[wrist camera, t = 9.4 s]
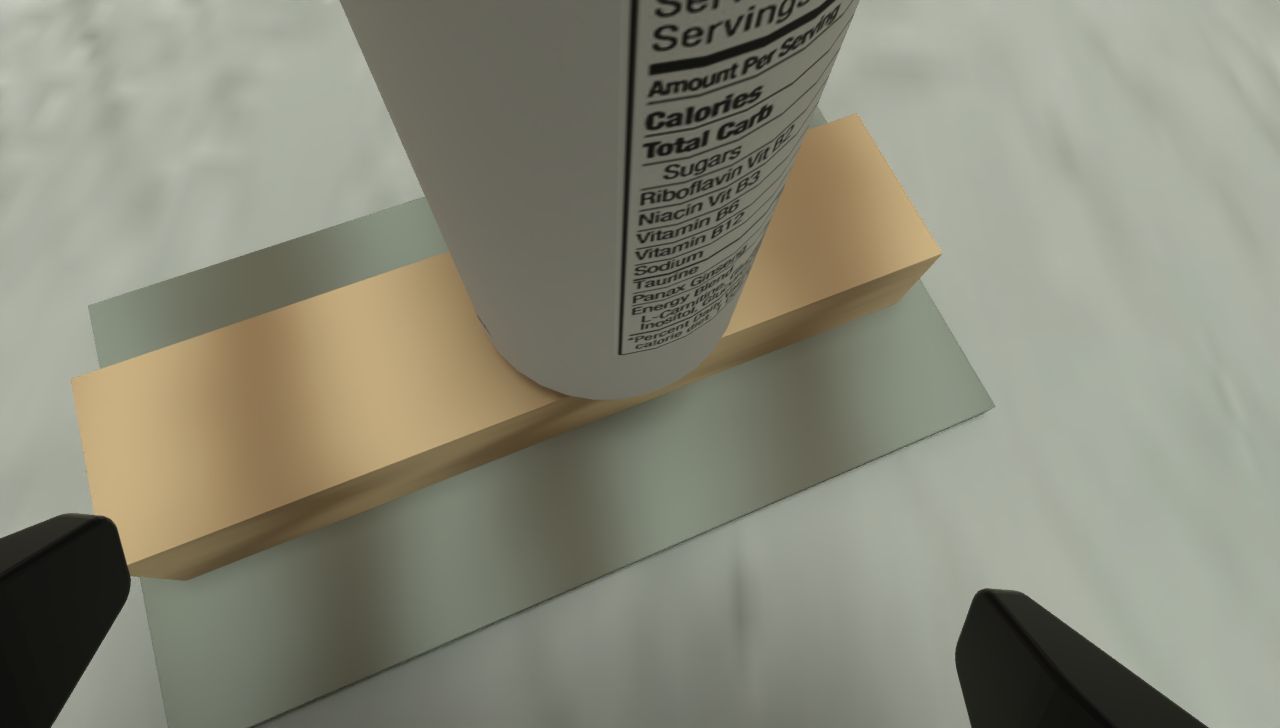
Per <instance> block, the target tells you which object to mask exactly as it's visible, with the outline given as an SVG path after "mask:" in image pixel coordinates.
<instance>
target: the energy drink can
mask: <svg viewBox="0 0 1280 728" xmlns="http://www.w3.org/2000/svg"><path fill="white" fill-rule="evenodd" d="M340 2H341V5H342V7H343V9H344V11H345V14H346V16H347V18H348V21H349V23H350V25H351V28H352V30H353V32H354V34H355V37H356V39H357V41H358V44H359V46H360V48H361V50H362V53H363V55H364V57H365V60H366V62H367V64H368V66H369V69H370V71H371V73H372V76H373V78H374V80H375V82H376V85H377V87H378V89H379V92H380V94H381V96H382V98H383V101H384V103H385V105H386V108H387V110H388V112H389V114H390V117H391V119H392V121H393V124H394V126H395V128H396V130H397V133H398V135H399V137H400V140H401V142H402V144H403V146H404V149H405V151H406V153H407V156H408V158H409V160H410V162H411V165H412V167H413V169H414V172H415V174H416V176H417V178H418V181H419V183H420V185H421V188H422V190H423V192H424V194H425V197H426V199H427V201H428V204H429V206H430V208H431V210H432V213H433V215H434V217H435V220H436V222H437V224H438V226H439V229H440V231H441V233H442V236H443V238H444V240H445V242H446V245H447V247H448V249H449V252H450V254H451V256H452V258H453V261H454V263H455V265H456V268H457V270H458V272H459V274H460V277H461V279H462V281H463V284H464V286H465V288H466V290H467V293H468V295H469V297H470V300H471V302H472V304H473V306H474V309H475V311H476V313H477V316H478V318H479V320H480V322H481V325H482V327H483V329H484V332H485V333H486V335H487V336H488V338H489V339H490V341H491V342H492V343H493V345H494V346H495V348H496V349H497V351H498V352H499V353H500V354H501V355H502V356H503V357H504V358H505V359H506V360H507V361H508V362H509V363H510V364H511V365H512V366H513V367H514V368H515V369H516V370H517V371H519V372H520V373H522V374H524V375H525V376H527V377H528V378H530V379H532V380H533V381H535V382H536V383H538V384H540V385H541V386H544V387H547V388H549V389H552V390H555V391H557V392H560V393H562V394H565V395H569V396H575V397H581V398H586V399H592V400H610V399H625V398H630V397H635V396H640V395H645V394H649V393H651V392H654V391H656V390H659V389H661V388H663V387H666V386H668V385H671V384H673V383H675V382H676V381H678V380H679V379H681V378H682V377H684V376H685V375H686V374H688V373H689V372H691V371H692V370H694V369H695V368H696V367H697V366H698V365H699V364H700V363H701V362H702V361H703V360H704V359H705V358H706V357H707V356H708V355H709V354H710V353H711V352H712V351H713V350H714V348H715V347H716V345H717V344H718V342H719V341H720V339H721V337H722V336H723V334H724V333H725V331H726V330H727V327H728V325H729V322H730V320H731V317H732V315H733V312H734V310H735V307H736V305H737V302H738V300H739V297H740V295H741V292H742V290H743V288H744V285H745V283H746V280H747V278H748V275H749V273H750V270H751V268H752V265H753V263H754V260H755V258H756V255H757V253H758V250H759V248H760V245H761V243H762V241H763V238H764V236H765V233H766V231H767V228H768V226H769V223H770V221H771V218H772V216H773V213H774V211H775V208H776V206H777V203H778V201H779V198H780V196H781V193H782V191H783V189H784V186H785V184H786V181H787V179H788V176H789V174H790V171H791V169H792V166H793V164H794V161H795V159H796V156H797V154H798V151H799V149H800V146H801V144H802V142H803V139H804V137H805V134H806V132H807V129H808V127H809V124H810V122H811V119H812V117H813V114H814V112H815V109H816V107H817V104H818V102H819V99H820V97H821V95H822V92H823V90H824V87H825V85H826V82H827V80H828V77H829V75H830V72H831V70H832V67H833V65H834V62H835V60H836V57H837V55H838V52H839V50H840V47H841V45H842V43H843V40H844V38H845V35H846V33H847V30H848V28H849V25H850V23H851V20H852V18H853V15H854V13H855V10H856V8H857V5H858V3H859V0H340Z"/></svg>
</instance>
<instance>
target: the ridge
mask: <svg viewBox="0 0 1280 728" xmlns="http://www.w3.org/2000/svg"><path fill="white" fill-rule="evenodd" d="M941 254H942V251H941V250H940V248H939V247H938V245H937V243H936V242H935V240H934V238H933V237H932V235H931V233H930V232H929V230H928V229H927V227H926V225H925V224H924V222H923V220H922V219H921V217H920V215H919V214H918V212H917V210H916V209H915V207H914V206H913V204H912V202H911V201H910V199H909V197H908V196H907V194H906V192H905V191H904V189H903V188H902V186H901V184H900V183H899V181H898V179H897V178H896V176H895V174H894V173H893V171H892V170H891V168H890V166H889V165H888V163H887V161H886V160H885V158H884V156H883V155H882V153H881V152H880V150H879V148H878V147H877V145H876V143H875V142H874V140H873V138H872V137H871V135H870V134H869V132H868V130H867V129H866V127H865V125H864V124H863V122H862V120H861V119H860V117H859V116H858V114H857V113H856V114H853V115H850V116H847V117H844V118H842V119H839V120H836V121H833V122H830V123H827V121H826V120H825V118H824V116H823V115H822V113H821V111H820V109H819V108H818V106H817V107H816V109H815V112H814V114H813V117H812V119H811V122H810V124H809V127H808V129H807V132H806V134H805V137H804V139H803V142H802V144H801V146H800V149H799V151H798V154H797V156H796V159H795V161H794V164H793V166H792V169H791V171H790V174H789V176H788V179H787V181H786V184H785V186H784V189H783V191H782V193H781V196H780V198H779V201H778V203H777V206H776V208H775V211H774V213H773V216H772V218H771V221H770V223H769V226H768V228H767V231H766V233H765V236H764V238H763V241H762V243H761V245H760V248H759V250H758V253H757V255H756V258H755V260H754V263H753V265H752V268H751V270H750V273H749V275H748V278H747V280H746V283H745V285H744V288H743V290H742V292H741V295H740V297H739V300H738V302H737V305H736V307H735V310H734V312H733V315H732V317H731V320H730V322H729V325H728V327H727V330H726V331H725V333H724V334H723V336H722V337H721V339H720V341H719V342H718V344H717V345H716V347H715V348H714V350H713V351H712V352H711V353H710V354H709V355H708V356H707V357H706V358H705V359H704V360H703V361H702V362H701V363H700V364H699V365H698V366H697V367H696V368H695V369H694V370H692V371H691V372H689V373H688V374H686V375H685V376H684V377H682V378H681V379H679V380H678V381H676V382H675V383H673V384H671V385H668V386H666V387H663V388H661V389H659V390H656V391H654V392H651V393H649V394H645V395H640V396H635V397H630V398H625V399H610V400H592V399H586V398H581V397H575V396H569V395H565V394H562V393H560V392H557V391H555V390H552V389H549V388H547V387H544V386H541V385H540V384H538V383H536V382H535V381H533V380H532V379H530V378H528V377H527V376H525V375H524V374H522V373H520V372H519V371H517V370H516V369H515V368H514V367H513V366H512V365H511V364H510V363H509V362H508V361H507V360H506V359H505V358H504V357H503V356H502V355H501V354H500V353H499V352H498V351H497V349H496V348H495V346H494V345H493V343H492V342H491V341H490V339H489V338H488V336H487V335H486V333H485V332H484V329H483V327H482V325H481V322H480V320H479V318H478V316H477V313H476V311H475V309H474V306H473V304H472V302H471V300H470V297H469V295H468V293H467V290H466V288H465V286H464V284H463V281H462V279H461V277H460V274H459V272H458V270H457V268H456V265H455V263H454V261H453V258H452V256H451V254H450V252H449V249H448V247H447V245H446V242H445V240H444V238H443V236H442V233H441V231H440V229H439V226H438V224H437V222H436V220H435V217H434V215H433V213H432V210H431V208H430V206H429V204H428V201H427V199H426V197H422V198H419V199H416V200H413V201H410V202H407V203H404V204H401V205H398V206H395V207H391V208H388V209H385V210H382V211H379V212H376V213H373V214H370V215H367V216H364V217H361V218H357V219H354V220H351V221H348V222H345V223H342V224H339V225H336V226H333V227H330V228H327V229H323V230H320V231H317V232H314V233H311V234H308V235H305V236H302V237H299V238H296V239H293V240H289V241H286V242H283V243H280V244H277V245H274V246H271V247H268V248H265V249H262V250H259V251H255V252H252V253H249V254H246V255H243V256H240V257H237V258H234V259H231V260H228V261H225V262H221V263H218V264H215V265H212V266H209V267H206V268H203V269H200V270H197V271H194V272H191V273H187V274H184V275H181V276H178V277H175V278H172V279H169V280H166V281H163V282H160V283H157V284H154V285H150V286H147V287H144V288H141V289H138V290H135V291H132V292H129V293H126V294H123V295H120V296H116V297H113V298H110V299H107V300H104V301H101V302H98V303H95V304H92V305H89V306H88V308H89V313H90V318H91V323H92V329H93V334H94V339H95V344H96V350H97V355H98V360H99V365H100V369H99V370H96V371H93V372H90V373H87V374H84V375H81V376H79V377H76V378H73V379H71V384H72V390H73V395H74V401H75V407H76V413H77V418H78V424H79V430H80V435H81V441H82V447H83V452H84V458H85V464H86V469H87V475H88V481H89V486H90V492H91V498H92V504H93V509H94V515H101V516H105V517H108V518H110V519H111V520H112V521H113V522H114V523H115V524H116V527H117V529H118V533H119V536H120V540H121V544H122V547H123V551H124V555H125V558H126V562H127V566H128V569H129V573H130V576H136V577H140V581H141V586H142V591H143V597H144V602H145V607H146V612H147V618H148V623H149V628H150V633H151V639H152V644H153V649H154V654H155V660H156V665H157V670H158V676H159V681H160V686H161V691H162V697H163V702H164V707H165V712H166V718H167V723H168V728H251V727H253V726H255V725H258V724H260V723H262V722H265V721H267V720H269V719H272V718H274V717H276V716H279V715H281V714H283V713H286V712H288V711H290V710H293V709H295V708H297V707H300V706H302V705H304V704H307V703H309V702H311V701H314V700H316V699H318V698H321V697H323V696H325V695H328V694H330V693H332V692H335V691H337V690H339V689H342V688H344V687H346V686H349V685H351V684H353V683H356V682H358V681H360V680H363V679H365V678H367V677H370V676H372V675H374V674H376V673H379V672H381V671H383V670H386V669H388V668H390V667H393V666H395V665H397V664H400V663H402V662H404V661H407V660H409V659H411V658H414V657H416V656H418V655H421V654H423V653H425V652H428V651H430V650H432V649H435V648H437V647H439V646H442V645H444V644H446V643H449V642H451V641H453V640H456V639H458V638H460V637H463V636H465V635H467V634H470V633H472V632H474V631H477V630H479V629H481V628H484V627H486V626H488V625H491V624H493V623H495V622H498V621H500V620H502V619H505V618H507V617H509V616H512V615H514V614H516V613H519V612H521V611H523V610H526V609H528V608H530V607H533V606H535V605H537V604H540V603H542V602H544V601H547V600H549V599H551V598H554V597H556V596H558V595H561V594H563V593H565V592H568V591H570V590H572V589H575V588H577V587H579V586H582V585H584V584H586V583H589V582H591V581H593V580H596V579H598V578H600V577H603V576H605V575H607V574H610V573H612V572H614V571H617V570H619V569H621V568H624V567H626V566H628V565H631V564H633V563H635V562H637V561H640V560H642V559H644V558H647V557H649V556H651V555H654V554H656V553H658V552H661V551H663V550H665V549H668V548H670V547H672V546H675V545H677V544H679V543H682V542H684V541H686V540H689V539H691V538H693V537H696V536H698V535H700V534H703V533H705V532H707V531H710V530H712V529H714V528H717V527H719V526H721V525H724V524H726V523H728V522H731V521H733V520H735V519H738V518H740V517H742V516H745V515H747V514H749V513H752V512H754V511H756V510H759V509H761V508H763V507H766V506H768V505H770V504H773V503H775V502H777V501H780V500H782V499H784V498H787V497H789V496H791V495H794V494H796V493H798V492H801V491H803V490H805V489H808V488H810V487H812V486H815V485H817V484H819V483H822V482H824V481H826V480H829V479H831V478H833V477H836V476H838V475H840V474H843V473H845V472H847V471H850V470H852V469H854V468H857V467H859V466H861V465H864V464H866V463H868V462H871V461H873V460H875V459H878V458H880V457H882V456H885V455H887V454H889V453H892V452H894V451H896V450H898V449H901V448H903V447H905V446H908V445H910V444H912V443H915V442H917V441H919V440H922V439H924V438H926V437H929V436H931V435H933V434H936V433H938V432H940V431H943V430H945V429H947V428H950V427H952V426H954V425H957V424H959V423H961V422H964V421H966V420H968V419H971V418H973V417H975V416H978V415H980V414H982V413H985V412H987V411H988V410H990V409H992V408H994V407H995V405H994V403H993V401H992V400H991V398H990V396H989V395H988V393H987V391H986V390H985V388H984V386H983V385H982V383H981V381H980V380H979V378H978V376H977V374H976V373H975V371H974V369H973V368H972V366H971V364H970V363H969V361H968V359H967V358H966V356H965V354H964V353H963V351H962V349H961V347H960V346H959V344H958V342H957V341H956V339H955V337H954V336H953V334H952V332H951V331H950V329H949V327H948V326H947V324H946V322H945V320H944V319H943V317H942V315H941V314H940V312H939V310H938V309H937V307H936V305H935V304H934V302H933V300H932V299H931V297H930V295H929V293H928V292H927V290H926V288H925V287H924V285H923V283H922V282H921V280H920V278H921V276H922V275H923V274H924V273H925V272H926V271H927V270H928V269H929V268H930V267H931V265H932V264H933V263H934V262H935V261H936V260H937V259H938V258H939V257H940V256H941Z"/></svg>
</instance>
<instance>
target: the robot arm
mask: <svg viewBox="0 0 1280 728" xmlns="http://www.w3.org/2000/svg"><path fill="white" fill-rule="evenodd" d="M130 584H131V578H130V573H129V569H128V566H127V562H126V558H125V555H124V551H123V547H122V544H121V540H120V536H119V533H118V529H117V527H116V524H115V523H114V522H113V521H112V520H111V519H110V518H108V517H105V516H101V515H89V514H77V513H68V514H62V515H59V516H56V517H54V518H51V519H49V520H46V521H44V522H41V523H38V524H36V525H33V526H31V527H28V528H26V529H23V530H21V531H18V532H16V533H13V534H10V535H8V536H5V537H3V538H0V728H51V726H52V725H53V723H54V722H55V720H56V718H57V717H58V715H59V713H60V712H61V710H62V708H63V707H64V705H65V703H66V702H67V700H68V698H69V697H70V695H71V693H72V691H73V690H74V688H75V686H76V685H77V683H78V681H79V680H80V678H81V676H82V675H83V673H84V671H85V670H86V668H87V666H88V665H89V663H90V661H91V660H92V658H93V656H94V655H95V653H96V651H97V650H98V648H99V646H100V644H101V643H102V641H103V639H104V638H105V636H106V634H107V633H108V631H109V629H110V628H111V626H112V624H113V623H114V621H115V619H116V618H117V616H118V614H119V613H120V611H121V609H122V608H123V606H124V604H125V602H126V600H127V597H128V594H129V591H130ZM955 662H956V669H957V673H958V677H959V681H960V685H961V689H962V693H963V697H964V700H965V704H966V708H967V712H968V716H969V720H970V724H971V727H972V728H1208V727H1207V726H1206V725H1204V724H1203V723H1202V722H1200V721H1199V720H1197V719H1196V718H1195V717H1193V716H1192V715H1191V714H1189V713H1188V712H1186V711H1185V710H1184V709H1182V708H1181V707H1180V706H1178V705H1177V704H1175V703H1174V702H1173V701H1171V700H1170V699H1169V698H1167V697H1166V696H1164V695H1163V694H1162V693H1160V692H1159V691H1158V690H1156V689H1155V688H1153V687H1152V686H1151V685H1149V684H1148V683H1146V682H1145V681H1144V680H1142V679H1141V678H1140V677H1138V676H1137V675H1135V674H1134V673H1133V672H1131V671H1130V670H1129V669H1127V668H1126V667H1124V666H1123V665H1122V664H1120V663H1119V662H1118V661H1116V660H1115V659H1113V658H1112V657H1111V656H1109V655H1108V654H1107V653H1105V652H1104V651H1102V650H1101V649H1100V648H1098V647H1097V646H1096V645H1094V644H1093V643H1091V642H1090V641H1089V640H1087V639H1086V638H1085V637H1083V636H1082V635H1080V634H1079V633H1078V632H1076V631H1075V630H1074V629H1072V628H1071V627H1069V626H1068V625H1067V624H1065V623H1064V622H1063V621H1061V620H1060V619H1058V618H1057V617H1056V616H1054V615H1053V614H1052V613H1050V612H1049V611H1047V610H1046V609H1045V608H1043V607H1042V606H1041V605H1039V604H1038V603H1036V602H1035V601H1034V600H1032V599H1031V598H1030V597H1028V596H1027V595H1025V594H1024V593H1021V592H1018V591H1014V590H1001V589H989V588H986V589H982V590H980V591H978V592H977V593H976V595H975V596H974V598H973V600H972V603H971V606H970V609H969V611H968V614H967V617H966V620H965V622H964V625H963V628H962V631H961V634H960V636H959V639H958V642H957V646H956V652H955Z"/></svg>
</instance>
